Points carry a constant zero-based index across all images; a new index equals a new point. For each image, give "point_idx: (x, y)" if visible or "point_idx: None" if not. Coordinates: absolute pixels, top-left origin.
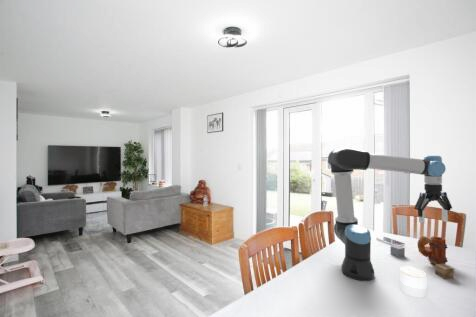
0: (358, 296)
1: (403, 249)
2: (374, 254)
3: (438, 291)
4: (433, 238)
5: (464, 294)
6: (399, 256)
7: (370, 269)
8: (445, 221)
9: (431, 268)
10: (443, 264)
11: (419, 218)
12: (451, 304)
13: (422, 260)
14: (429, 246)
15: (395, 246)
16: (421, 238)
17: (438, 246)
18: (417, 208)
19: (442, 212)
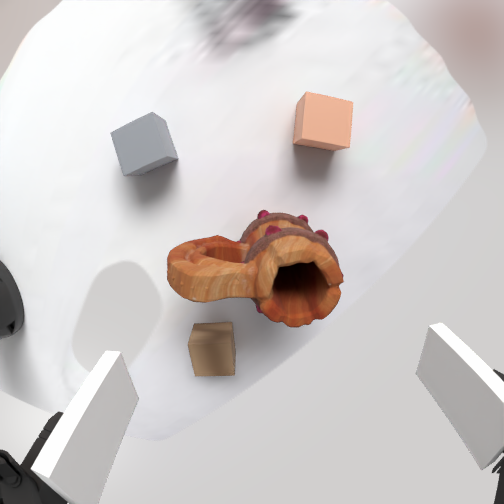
0: (5, 369)
1: (161, 159)
2: (64, 151)
3: (138, 395)
4: (262, 295)
5: (194, 410)
6: (145, 172)
7: (3, 337)
8: (420, 367)
9: None
10: (221, 348)
11: (89, 384)
12: (138, 425)
13: (231, 209)
14: (333, 141)
15: (130, 137)
16: (175, 283)
17: (262, 312)
18: (1, 501)
19: (487, 401)
